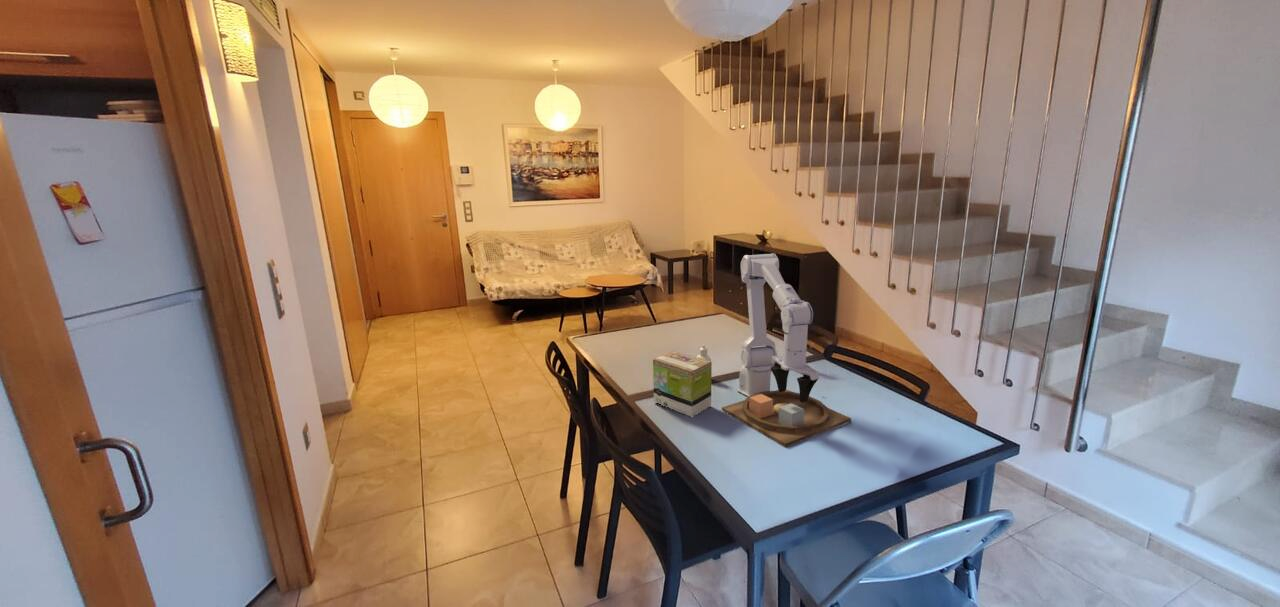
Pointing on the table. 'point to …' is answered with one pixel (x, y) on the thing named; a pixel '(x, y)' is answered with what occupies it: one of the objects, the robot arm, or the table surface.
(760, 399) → the orange cube
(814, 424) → the groove tray
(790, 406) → the grey cube
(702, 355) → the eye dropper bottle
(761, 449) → the table surface
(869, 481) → the table surface
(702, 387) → the tea box
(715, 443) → the table surface
